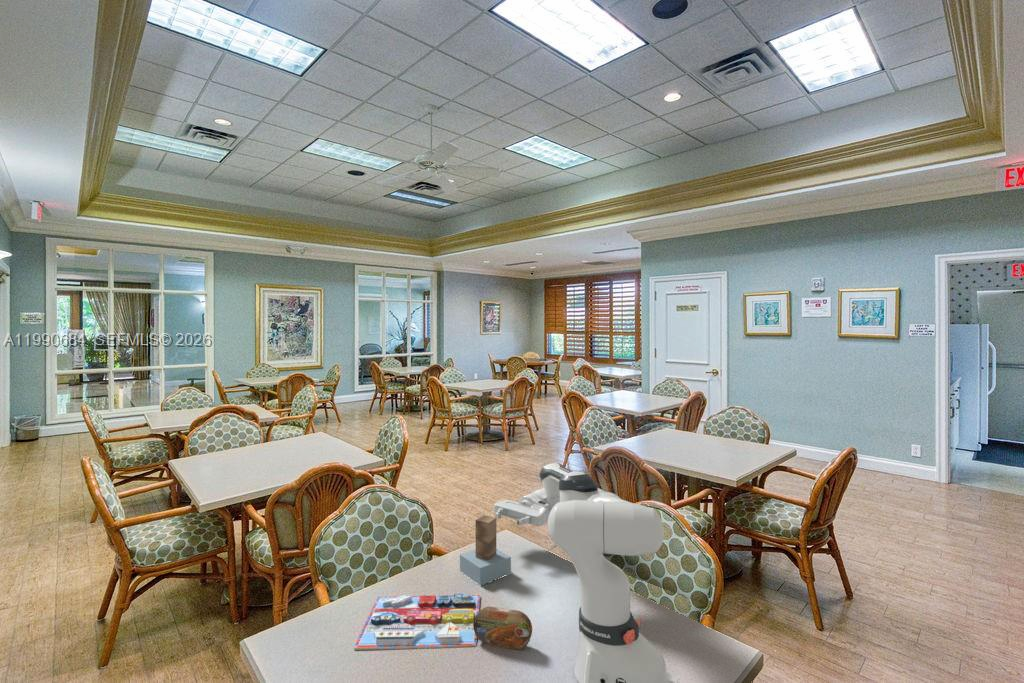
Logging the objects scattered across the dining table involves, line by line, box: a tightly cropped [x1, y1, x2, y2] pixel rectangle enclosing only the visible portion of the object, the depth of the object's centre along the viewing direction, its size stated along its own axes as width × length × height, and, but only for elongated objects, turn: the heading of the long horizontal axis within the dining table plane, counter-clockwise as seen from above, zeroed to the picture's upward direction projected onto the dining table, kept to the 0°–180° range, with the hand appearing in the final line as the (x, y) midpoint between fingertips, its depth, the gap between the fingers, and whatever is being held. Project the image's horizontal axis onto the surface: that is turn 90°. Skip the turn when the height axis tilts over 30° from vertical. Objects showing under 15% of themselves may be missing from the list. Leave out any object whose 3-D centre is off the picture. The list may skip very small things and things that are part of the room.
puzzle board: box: [353, 593, 481, 651], centre depth 129 cm, size 30×23×3 cm
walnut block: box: [475, 514, 497, 560], centre depth 155 cm, size 5×5×12 cm
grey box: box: [459, 548, 512, 586], centre depth 155 cm, size 12×12×6 cm
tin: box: [473, 606, 533, 650], centre depth 119 cm, size 15×3×8 cm, turn 73°
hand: (507, 519), depth 164 cm, fingers open, 8 cm apart
